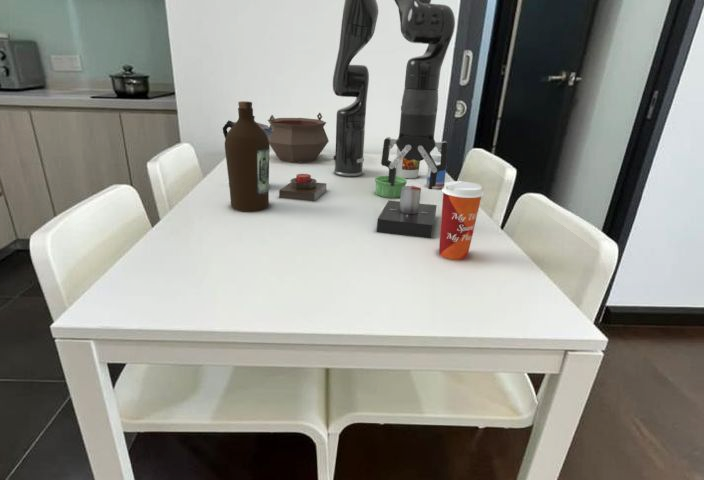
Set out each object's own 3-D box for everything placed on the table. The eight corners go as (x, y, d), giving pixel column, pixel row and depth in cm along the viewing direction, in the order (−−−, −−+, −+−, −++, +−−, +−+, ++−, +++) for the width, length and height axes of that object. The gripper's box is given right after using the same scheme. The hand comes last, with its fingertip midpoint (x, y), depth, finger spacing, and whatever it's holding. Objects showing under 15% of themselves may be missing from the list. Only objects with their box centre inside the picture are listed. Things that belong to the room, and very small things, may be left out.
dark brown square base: (293, 187, 136) (293, 174, 135) (326, 190, 134) (326, 177, 132) (279, 198, 126) (278, 183, 124) (314, 201, 124) (314, 187, 122)
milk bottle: (392, 177, 153) (397, 113, 144) (398, 172, 159) (403, 111, 151) (415, 180, 150) (422, 115, 141) (420, 175, 156) (427, 113, 148)
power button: (299, 179, 131) (299, 173, 130) (312, 180, 130) (312, 174, 129) (294, 182, 127) (294, 176, 126) (308, 183, 126) (308, 177, 125)
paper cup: (450, 264, 88) (461, 192, 82) (425, 250, 94) (434, 182, 88) (481, 258, 91) (494, 188, 86) (455, 245, 98) (465, 179, 92)
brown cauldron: (303, 150, 190) (304, 108, 183) (341, 161, 174) (343, 115, 167) (252, 156, 176) (250, 111, 169) (288, 168, 160) (287, 118, 153)
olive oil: (221, 210, 114) (213, 102, 104) (239, 199, 124) (233, 99, 113) (262, 214, 112) (258, 104, 102) (276, 202, 122) (274, 101, 111)
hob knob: (398, 213, 106) (400, 188, 104) (400, 207, 110) (402, 183, 108) (417, 215, 106) (420, 190, 103) (419, 209, 109) (421, 185, 107)
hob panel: (387, 211, 118) (388, 199, 116) (435, 216, 115) (436, 204, 114) (376, 231, 103) (377, 218, 102) (430, 238, 101) (432, 224, 100)
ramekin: (369, 196, 131) (370, 180, 129) (379, 188, 138) (380, 174, 136) (400, 200, 128) (402, 184, 126) (408, 192, 135) (410, 177, 133)
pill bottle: (446, 186, 143) (450, 154, 139) (439, 189, 139) (444, 157, 135) (430, 183, 146) (433, 152, 142) (423, 187, 142) (426, 154, 138)
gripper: (453, 112, 100) (443, 186, 107) (388, 108, 103) (383, 180, 110) (452, 115, 94) (442, 193, 101) (383, 111, 97) (377, 187, 104)
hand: (411, 186), depth 105 cm, fingers open, 8 cm apart
